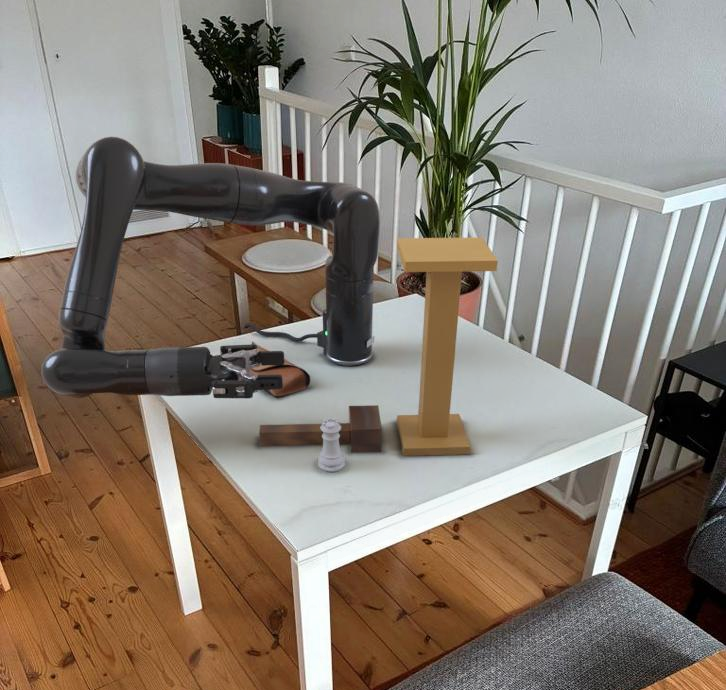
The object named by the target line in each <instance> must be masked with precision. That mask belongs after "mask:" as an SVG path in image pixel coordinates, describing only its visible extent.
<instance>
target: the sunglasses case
mask: <svg viewBox="0 0 726 690" xmlns="http://www.w3.org/2000/svg"><path fill="white" fill-rule="evenodd" d="M251 344H255V345H257V349H260V351H269V350H268V349H266V348H264V347H262V346H260V345H258V344H256V342H254V341H251ZM245 351H246V352H247V351H250V350H245ZM250 362H251V361H250ZM247 373H250V374H253V375H256V376H257V378H258V375H278V374H279V375H281V376H282V381H283V387H282V389H278V390H264V391H265V392H267V394H270V395H271V396H273V397H278V398H279V397H284V396H289V395H293V394H295V393H298V392H301V391H303V390H306V389H307V388H308V387H309V386H310V384H311V375H310V374H309V373H308V372H307V370H305V369H304V368H302V367H300V366H297V365H295V364H293V363H292V362H290V361H289V360H287V359H285V358H284V364H283V365H263V366H262V363H261V365H259V366H256V367H253V368H251V369H250V371H249V372H247Z"/></svg>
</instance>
